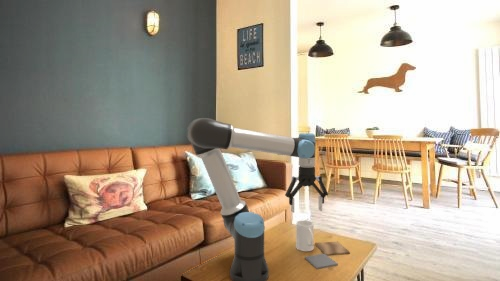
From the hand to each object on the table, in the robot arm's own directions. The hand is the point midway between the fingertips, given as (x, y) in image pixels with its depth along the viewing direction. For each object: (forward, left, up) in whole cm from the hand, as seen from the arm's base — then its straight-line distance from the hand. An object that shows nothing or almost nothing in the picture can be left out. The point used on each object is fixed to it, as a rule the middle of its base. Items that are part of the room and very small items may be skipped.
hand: (306, 211), depth 134 cm
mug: (0, 0, -19) cm, 19 cm away
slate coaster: (+2, -13, -18) cm, 23 cm away
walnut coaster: (+12, -2, -18) cm, 22 cm away
